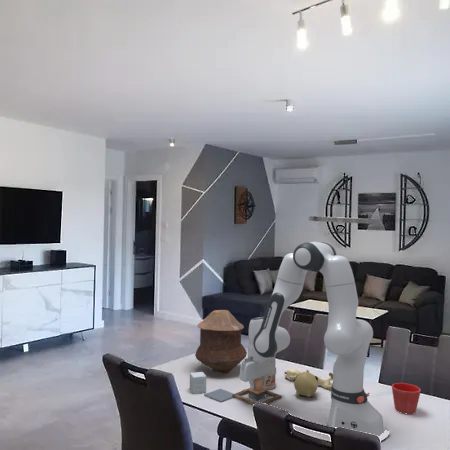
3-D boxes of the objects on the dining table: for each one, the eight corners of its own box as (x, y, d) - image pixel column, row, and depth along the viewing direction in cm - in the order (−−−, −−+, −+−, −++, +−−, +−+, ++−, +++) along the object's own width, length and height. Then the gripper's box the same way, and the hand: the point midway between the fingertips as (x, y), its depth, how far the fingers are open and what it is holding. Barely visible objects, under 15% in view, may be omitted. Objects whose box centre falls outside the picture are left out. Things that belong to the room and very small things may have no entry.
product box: (202, 387, 210) (203, 371, 210) (206, 392, 204) (206, 376, 204) (189, 389, 208) (189, 372, 208) (192, 394, 202) (193, 377, 202)
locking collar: (281, 398, 200) (281, 394, 200) (259, 407, 189) (259, 404, 189) (254, 388, 211) (254, 385, 211) (232, 397, 200) (232, 393, 200)
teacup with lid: (267, 391, 208) (268, 365, 207) (251, 386, 214) (252, 360, 213) (283, 384, 217) (283, 359, 216) (267, 379, 223) (268, 355, 222)
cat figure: (337, 389, 216) (289, 373, 231) (339, 371, 216) (291, 356, 230) (328, 396, 208) (279, 378, 223) (330, 377, 208) (281, 361, 222)
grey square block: (265, 397, 200) (265, 390, 200) (257, 401, 197) (258, 393, 196) (256, 394, 204) (256, 387, 204) (248, 397, 200) (248, 390, 200)
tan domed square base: (265, 390, 200) (265, 379, 200) (258, 393, 196) (258, 382, 196) (255, 387, 204) (255, 375, 204) (247, 390, 200) (248, 378, 200)
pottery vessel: (230, 383, 217) (231, 318, 216) (184, 372, 229) (186, 311, 229) (254, 368, 239) (256, 309, 238) (212, 359, 252) (213, 303, 251)
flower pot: (396, 403, 198) (397, 380, 198) (423, 410, 191) (424, 387, 191) (387, 410, 190) (387, 387, 190) (414, 418, 183) (415, 394, 183)
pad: (236, 396, 201) (237, 394, 201) (220, 402, 194) (220, 401, 194) (220, 389, 208) (220, 388, 208) (204, 395, 201) (204, 394, 201)
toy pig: (321, 393, 207) (322, 369, 207) (312, 402, 197) (313, 377, 196) (300, 389, 212) (301, 365, 212) (290, 397, 202) (291, 372, 201)
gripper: (248, 361, 190) (247, 395, 190) (278, 351, 205) (277, 383, 205) (236, 357, 194) (235, 390, 195) (266, 348, 209) (266, 379, 209)
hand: (257, 386), depth 200 cm, fingers closed on tan domed square base, 5 cm apart
